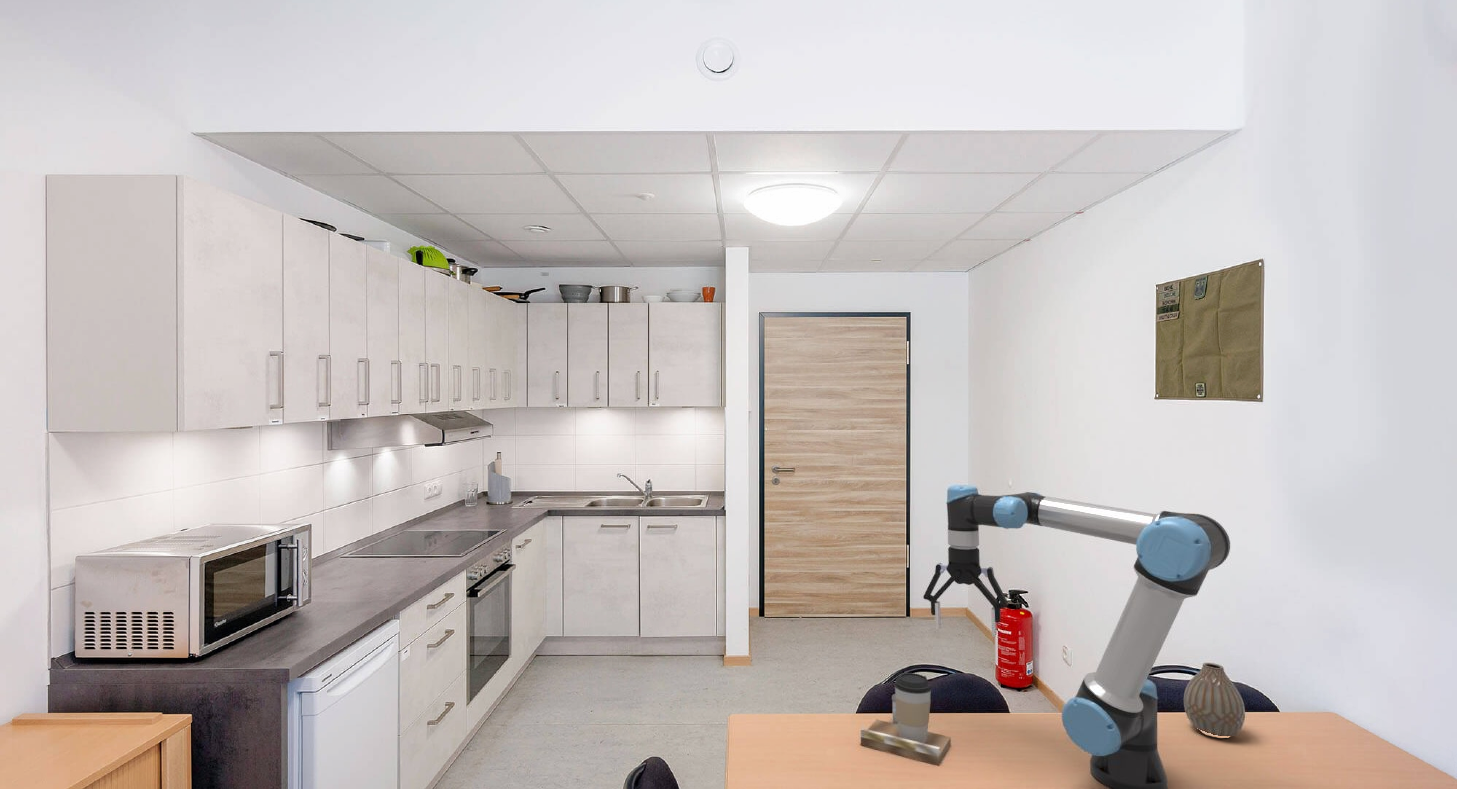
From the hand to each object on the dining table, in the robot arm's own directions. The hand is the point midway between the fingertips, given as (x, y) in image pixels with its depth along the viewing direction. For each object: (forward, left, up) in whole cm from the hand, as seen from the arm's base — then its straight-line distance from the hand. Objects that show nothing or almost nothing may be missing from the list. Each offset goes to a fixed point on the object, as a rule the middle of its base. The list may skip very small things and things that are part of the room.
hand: (965, 631), depth 174 cm
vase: (-54, -40, -28) cm, 73 cm away
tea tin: (+17, -1, -27) cm, 32 cm away
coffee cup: (+11, +9, -26) cm, 29 cm away
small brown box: (+12, +10, -27) cm, 32 cm away
